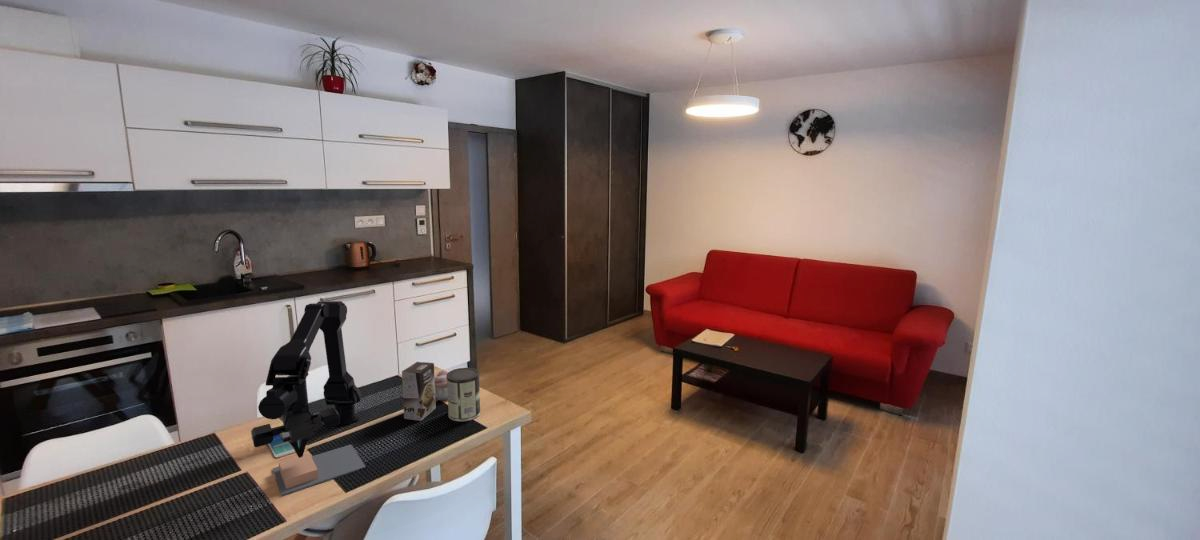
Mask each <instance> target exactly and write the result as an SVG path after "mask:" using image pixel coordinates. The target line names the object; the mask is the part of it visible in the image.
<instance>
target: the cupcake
mask: <svg viewBox="0 0 1200 540" xmlns="http://www.w3.org/2000/svg"><path fill="white" fill-rule="evenodd" d="M448 372H449V371H448V370H446V369H442V370H440V371H438V373H437V374H436V375H434V379H435V400H438V401H444V400H445V401H448V392H447V378H446V375H447V373H448Z"/></svg>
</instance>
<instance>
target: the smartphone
mask: <svg viewBox="0 0 1200 540" xmlns="http://www.w3.org/2000/svg"><path fill="white" fill-rule="evenodd" d="M273 438H274V440H273V441H272V442H271V443H270V444H267V446H268V447H269V449H270V451H271V453H272V454H273V457H274V458H275V459H280V458H284V457H286V456H290V455H293V454H296V452H295V450H294V448H293V447H292V445H291V444H290V443H289V442H283V441H282V439H281V436H280V434H279V435H275V436H273ZM297 442H298V446H299V440H298V441H297Z"/></svg>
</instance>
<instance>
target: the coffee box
mask: <svg viewBox="0 0 1200 540" xmlns="http://www.w3.org/2000/svg"><path fill="white" fill-rule="evenodd" d="M434 377H435V363H433V362H428V361H427V362H424V361H423V362H422V361H416V362H415V363H413V364H412V365H410V366H408V367H406V368H405V369H404V370H402V371H401V379H402V380H401V381H402V382H401V383H402V398H403V399H402V401H403V402H402V404H403V418H404V419H405V420H413V421H419V422H421V421H423V420H424V419H425V418H427V416H428V415H430V414H431V413H433V411H435V410H436V408H437V407H436V399H435V379H434Z"/></svg>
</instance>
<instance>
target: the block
mask: <svg viewBox="0 0 1200 540" xmlns="http://www.w3.org/2000/svg"><path fill="white" fill-rule="evenodd" d="M311 456H312V455H311V453H310V452H304V453H303V457H300V458H299V457H298V455H295V456H293V457H290V458H285V459H283V460H280V461H278V467H279V470H280V473H281V476H282V479H283V482H284V484H285V487H286V489H288V488H291V487H294V486H297V485H300V484H303V483H306V482H309V481H312V480H315V479H318V469H317V467H316V465H315V463H314V461H313V459H312V457H311Z"/></svg>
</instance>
